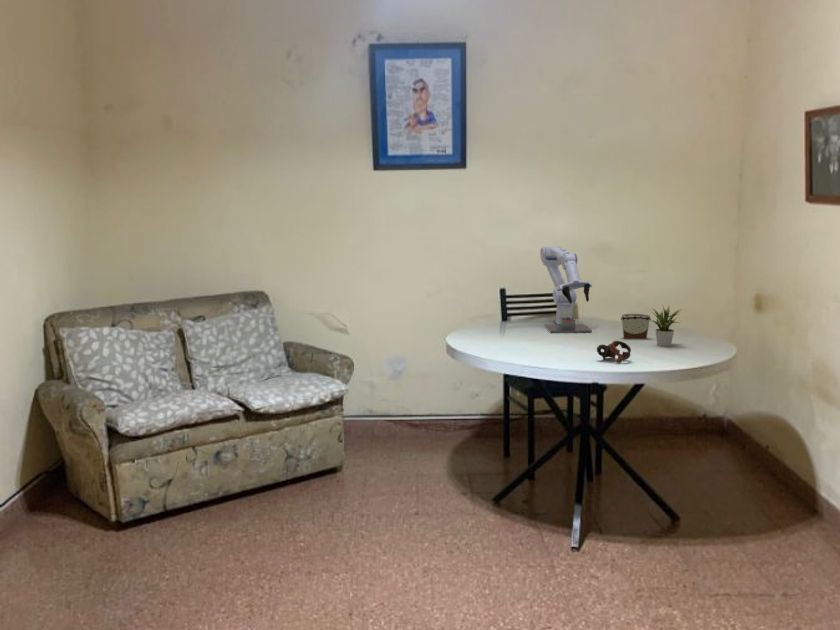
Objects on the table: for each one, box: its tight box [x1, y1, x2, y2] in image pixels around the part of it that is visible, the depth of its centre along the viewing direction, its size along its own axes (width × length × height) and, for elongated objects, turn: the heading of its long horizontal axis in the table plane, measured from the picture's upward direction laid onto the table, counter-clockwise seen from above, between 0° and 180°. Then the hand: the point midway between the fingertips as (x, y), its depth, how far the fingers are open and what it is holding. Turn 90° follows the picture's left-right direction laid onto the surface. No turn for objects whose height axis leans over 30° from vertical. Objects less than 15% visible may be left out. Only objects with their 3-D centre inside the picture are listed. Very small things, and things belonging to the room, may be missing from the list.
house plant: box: [649, 304, 683, 347], centre depth 296 cm, size 14×14×16 cm
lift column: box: [563, 308, 573, 319], centre depth 336 cm, size 3×3×8 cm
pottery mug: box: [596, 340, 632, 364], centre depth 270 cm, size 12×10×8 cm
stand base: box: [543, 317, 592, 334], centre depth 337 cm, size 18×18×6 cm
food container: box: [620, 313, 652, 340], centre depth 314 cm, size 12×6×10 cm, turn 84°
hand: (579, 301), depth 335 cm, fingers open, 7 cm apart
